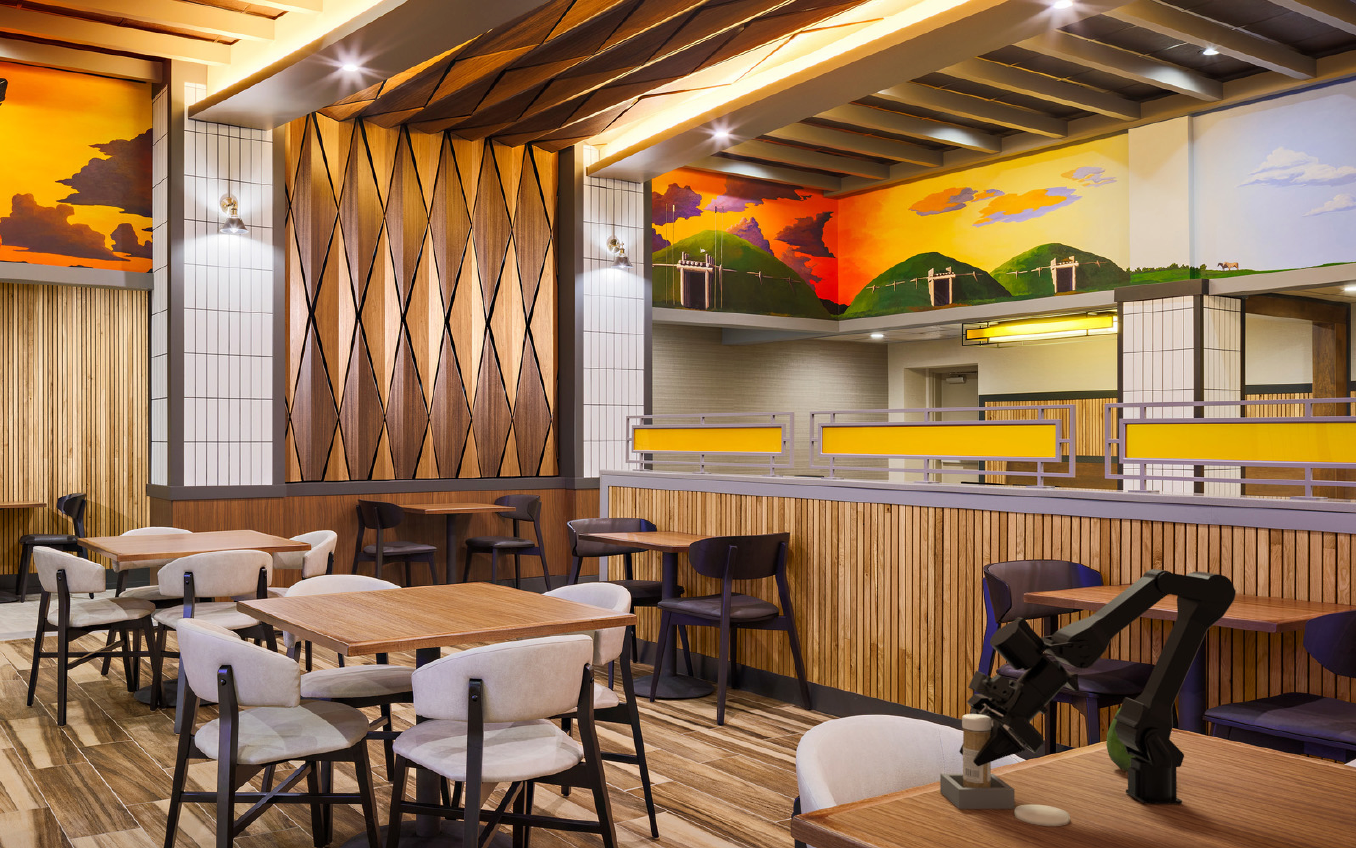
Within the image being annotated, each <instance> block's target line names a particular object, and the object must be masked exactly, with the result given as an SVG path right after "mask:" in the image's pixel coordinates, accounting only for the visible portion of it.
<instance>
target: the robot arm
mask: <svg viewBox="0 0 1356 848" xmlns="http://www.w3.org/2000/svg"><path fill="white" fill-rule="evenodd" d="M1169 595H1172V596H1177V598H1176V609H1177V616H1176V620H1175V621H1174V624H1173V626H1172V628H1171V631H1170V632H1169V634H1168V637H1167V639H1166V641H1165V643H1164V646H1163V648H1162V650H1161V652H1160V654H1159V656H1158V659H1157V661H1156V663H1155V666H1154V667H1153V669H1152V672H1151V674H1150V676H1149V678H1148V681H1147V682H1146V684H1145V687H1144V689H1143V691H1142V693H1140V695H1138V696H1137V697H1136V698H1134V699H1131V698H1129V697H1124V698H1123V700H1122V703H1121V706H1120V707H1121V709H1120V711H1119V713H1118V714H1117V715H1116V714H1115V715H1116V716H1115V715H1114V717H1113V719H1116V720H1117V722H1116V726H1115V731H1116V733H1117V737H1118V739H1119V740H1120V741H1121V742H1122V743H1123V744H1124V746H1125V749H1126V752H1127V754H1129V755H1132V756H1134V757H1135V758H1130V764H1131V767H1129V768H1128V771H1127V789H1125V793H1126V794H1128V795H1129V796H1131V797H1132V798H1134V799H1135V800H1137V801H1139V802H1141V803H1143V804H1145V805H1146V804H1147V805H1148V804H1153V805H1154V804H1159V805H1160V804H1162V805H1163V804H1167V805H1168V804H1171V805H1173V804H1175V805H1176V804H1178V805H1179V804H1183V799H1180V798H1179V797H1177V796H1178V795H1177V788H1178V786H1177V768H1181V767H1182V764H1183V761H1184V758H1185V754H1184V753H1183V752H1182V750H1181V749H1179V748H1178V746H1177V745H1175V743H1174V742H1172V740H1171V735H1172V730H1173V726H1174V723H1173V721H1174V720H1173V706H1174V705H1175V701H1176V700H1177V699H1176V698H1177V697H1178V695H1179V693H1180V691H1181V689H1182V686H1183V684H1184V682H1185V680H1186V677H1187V675H1188V672H1189V671H1190V669H1191V666H1192V664H1193V662H1194V660H1195V658H1196V656H1197V653H1198V651H1199V649H1200V647H1201V645H1202V642H1203V641H1204V639H1205V635H1206V634H1207V631H1208V630H1209V629H1210V628H1211V627H1212V626H1214V625H1215V624H1216V623H1217V622H1218V621H1220V620H1221V619H1222V618H1223V617H1224V616H1225V615H1226V613H1227V612H1228V610H1229V609H1230V607H1231V606H1232V605H1233V603H1234V601H1235V598H1236V595H1237V591H1236V589H1235V587H1234V584H1233V582H1232V581H1231V579H1230V578H1229V577H1227V576H1225V575H1223V574H1221V573H1220V574H1219V573H1214V572H1213V573H1212V572H1205V571H1192V572H1189V573H1187V574H1186V575H1185V574H1179V573H1173V572H1171V571H1169V570H1164V569H1156V568H1151V569H1149V570H1147V571H1146V572H1144V574H1142V577H1140V578H1138V580H1136V581H1135V582H1134V583H1132V584H1131V585H1130V586H1128V587H1127V588H1126V589H1124V590H1123V591H1122V592H1120V593H1119V594H1118V595H1117V596H1115V597H1114V598H1113V599H1111V600H1110V601H1109V602H1107V604H1105V605H1103V606H1102V607H1101V608H1100V609H1099V610H1097V611H1096V612H1095V613H1094V614H1092V615H1090V616H1088V617H1086V618H1083V619H1079V620H1076V621H1074V622H1071V623H1070V624H1069V623H1068V625H1065V626H1064V627H1061V628H1060V629H1058V630H1057V631H1055V632H1054V633H1053V634H1052V635H1047V636H1041V637H1040V636H1039V635H1038V634H1037V632H1035V630H1033V628H1032V627H1031V625H1030V624H1029V622H1028V621H1027V620H1026V619H1025V618H1024V617H1023V618H1022V617H1016V618H1015V619H1014V620H1013V621H1010V622H1008V623H1006V624H1004V625H1003V626H1002V627H999V628H998V629H997V630H996V631H995V632H994V634H992V636H991V638H990V639H989V640H990V641H989V644H990V646H991V647H992V648H993V649H994V650H995V652H997V653H998V654H999V655H1000V656H1001V657H1002V658H1003V659H1004V661H1006V663H1007V664H1008V665H1009V666H1010V667H1012V669H1013V670H1014V671H1015V670H1017V671H1018V670H1019V671H1020V670H1023V671H1024V673H1023V674H1021V676H1020V677H1019V678H1018V679H1017V680H1014V679H1008V678H1007V677H1005V676H1002V675H1000V674H998V673H997V674H995V675H994V676H992V677H991V676H989V675H988V674H985V673H983V672H980V671H979V670H975V672H974V674H973V676H972V679H971V681H970V682H969V685H968V689H970V690H973V691H974V692H976V693H973V694H972V696H970V698H969V699H968V700H967V701H966V703H967V704H968V705H969V706H970V712H971V714H980V715H986V716H989V717H990V718H991V732H990V738H989V739H988V741H987V742H986V743H985V745H984V746H983V747H982V749H981V750H980V751H979V753H978V754H977V756H976V757H975V759H974V760H973V762H974V763H975V764H976V765H977V766H981V765H984V764H986V763H989V762H991V763H992V762H994V761H997V760H999V759H1002V758H1006V757H1009V756H1011V755H1016V754H1018V753H1025V752H1026V751H1027V750H1028V751H1030V752H1032V753H1033V754H1036V753H1038V752H1039V750H1040V749H1042V748H1043V746H1044V736H1043V735H1042V734H1041V733H1040V732H1039V730H1037V729H1036V727H1035V726H1034V725H1033V724H1032V723H1031V721H1033V719H1034V718H1035V717H1037V715H1038V714H1042V715H1045V714H1047V712H1048V709H1047V708H1046V706H1047V704H1048V703H1050V702H1051V700H1052V699H1053V698H1055V696H1056V695H1057V694H1058V693H1059V692H1060V691H1061V690H1062V689H1063V687H1066V688H1068V689H1070V690H1073V691H1075V692H1078V691H1080V683H1079V674H1078V673H1076V672H1073V671H1068V670H1067V668H1065V666H1063V664H1065V665H1068V666H1071V667H1074V668H1077V669H1083V670H1085V669H1087V668H1090V667H1092V666H1093V665H1095V664H1096V662H1097V661H1098V660H1099V659H1100V658H1101V656H1103V655H1104V653H1106V651H1107V649H1108V647H1109V644H1110V643H1111V641H1112V639H1114V638H1115V636H1117V635H1118V634H1119V633H1120V632H1121V631H1122V630H1124V629H1125V628H1127V627H1128V626H1129V625H1130V624H1131V623H1133V622H1134V621H1135V620H1137V619H1138V618H1139V617H1141V616H1142V615H1144V613H1147V611H1148V610H1150V609H1151V608H1152V607H1153V606H1155V605H1156V604H1157V603H1158V602H1161V600H1163V599H1165V597H1166V596H1169ZM1046 654H1049V655H1051V656H1053V657H1054V658H1055V659H1056V660H1051V659H1050V658H1049V657H1048V656H1047V655H1046ZM1061 663H1063V664H1061ZM1024 746H1025V747H1024ZM1025 748H1026V749H1027V750H1026V749H1025ZM959 754H961V755H962V756H963V743H962V745H961V746H960V749H959Z"/></svg>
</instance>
